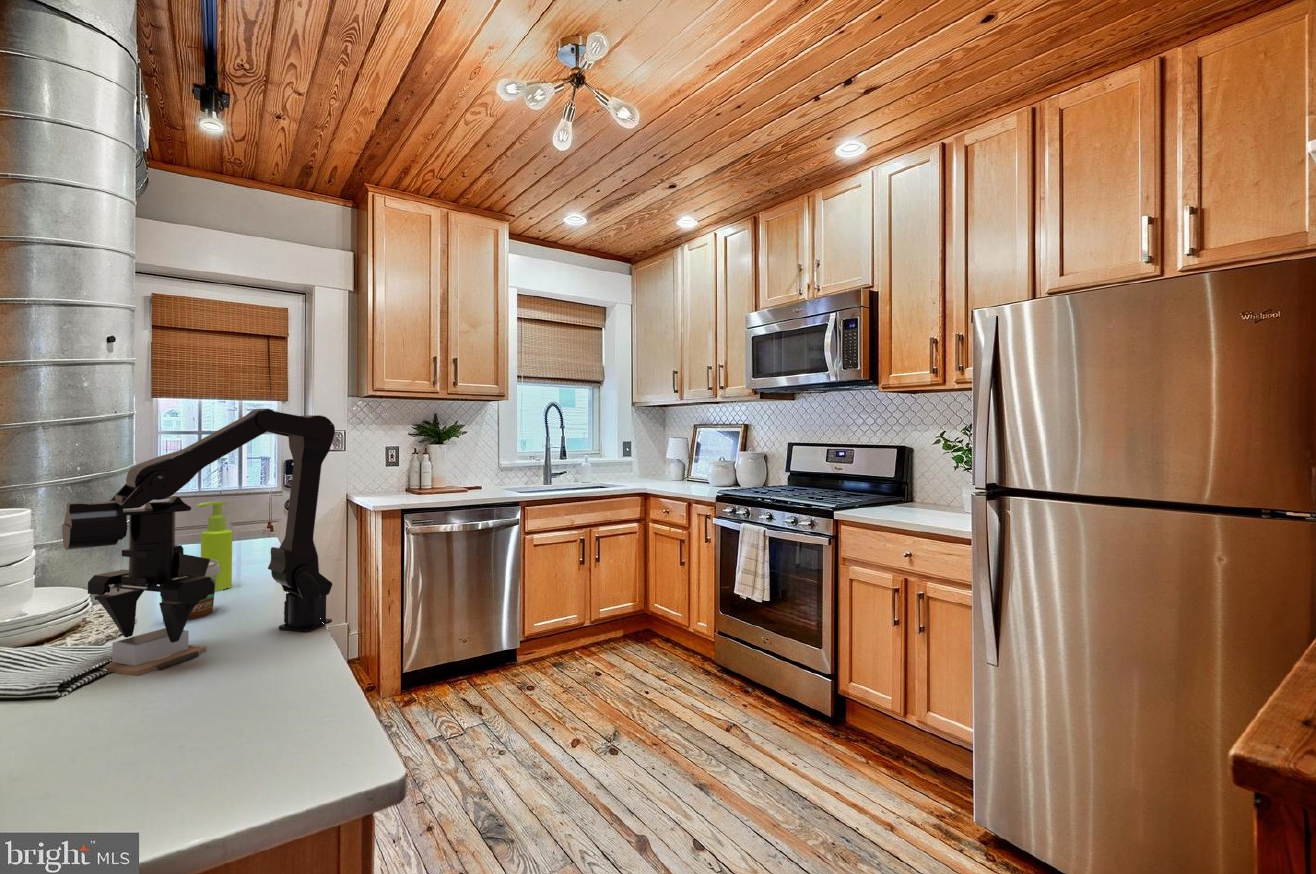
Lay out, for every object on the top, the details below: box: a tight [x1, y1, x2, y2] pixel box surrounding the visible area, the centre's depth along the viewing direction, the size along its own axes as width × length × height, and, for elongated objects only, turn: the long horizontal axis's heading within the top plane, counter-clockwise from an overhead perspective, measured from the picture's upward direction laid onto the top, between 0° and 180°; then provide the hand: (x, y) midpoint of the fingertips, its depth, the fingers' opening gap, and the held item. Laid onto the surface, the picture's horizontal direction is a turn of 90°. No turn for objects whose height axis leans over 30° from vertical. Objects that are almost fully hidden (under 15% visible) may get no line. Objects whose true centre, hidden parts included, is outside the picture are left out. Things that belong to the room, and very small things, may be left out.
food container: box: [160, 559, 221, 623], centre depth 124 cm, size 12×6×10 cm, turn 179°
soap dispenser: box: [195, 501, 233, 592], centre depth 144 cm, size 6×7×20 cm
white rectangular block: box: [111, 627, 190, 666], centre depth 100 cm, size 5×8×3 cm, turn 162°
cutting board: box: [104, 644, 207, 676], centre depth 100 cm, size 10×11×1 cm
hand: (151, 639), depth 100 cm, fingers open, 9 cm apart
